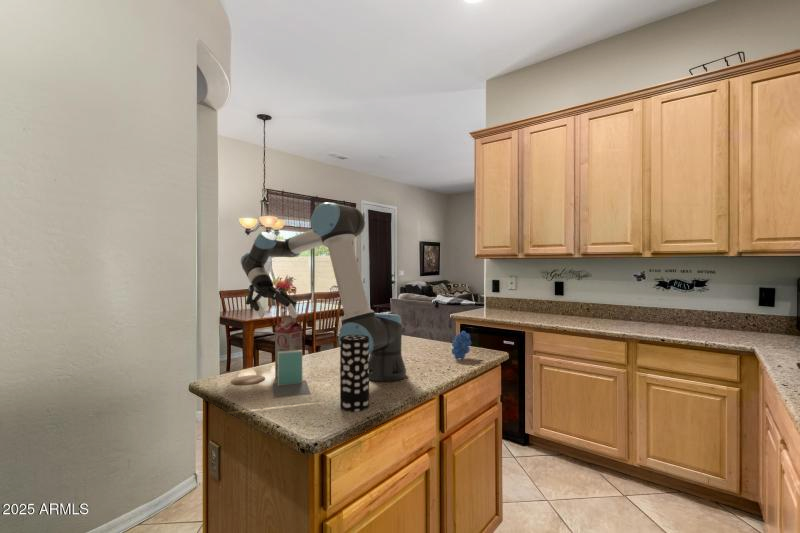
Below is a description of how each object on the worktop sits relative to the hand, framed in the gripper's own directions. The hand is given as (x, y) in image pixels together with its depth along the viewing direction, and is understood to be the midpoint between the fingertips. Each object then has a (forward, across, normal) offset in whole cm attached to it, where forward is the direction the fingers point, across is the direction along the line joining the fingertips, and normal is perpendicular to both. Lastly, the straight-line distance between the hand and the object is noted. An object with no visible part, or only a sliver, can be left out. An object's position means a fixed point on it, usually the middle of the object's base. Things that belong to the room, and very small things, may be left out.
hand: (279, 316), depth 141 cm
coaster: (+12, +8, -20) cm, 25 cm away
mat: (+27, +3, -8) cm, 28 cm away
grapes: (+36, -69, +10) cm, 79 cm away
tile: (+23, 0, -10) cm, 25 cm away
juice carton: (+16, -4, -15) cm, 23 cm away
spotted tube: (+48, -2, +8) cm, 48 cm away
